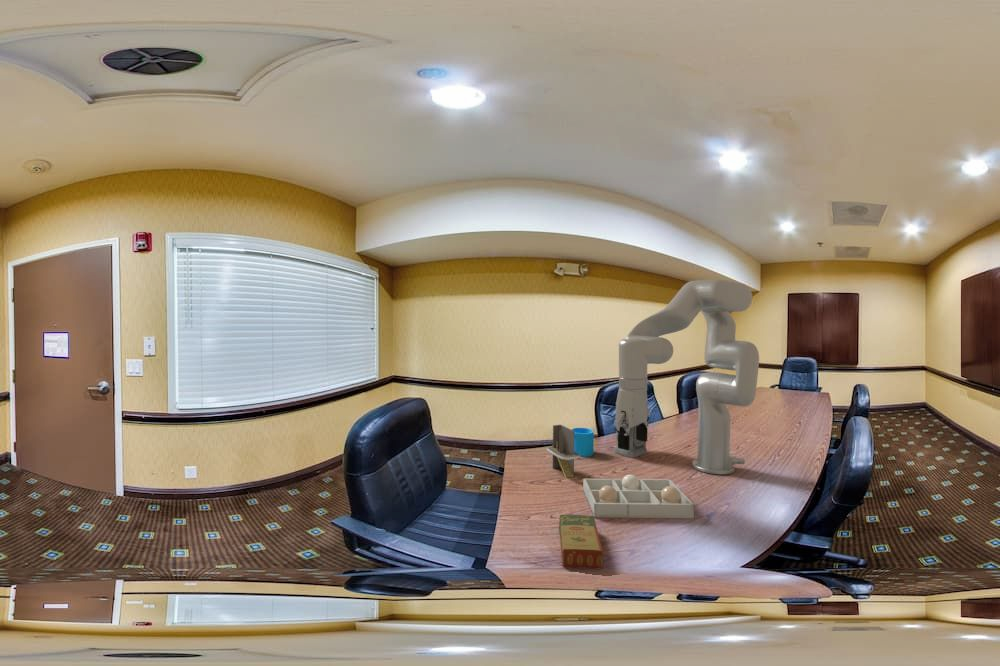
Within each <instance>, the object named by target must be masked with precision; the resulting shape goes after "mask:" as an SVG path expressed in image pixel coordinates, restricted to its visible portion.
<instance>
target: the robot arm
mask: <svg viewBox="0 0 1000 666" xmlns="http://www.w3.org/2000/svg"><path fill="white" fill-rule="evenodd" d="M752 302H753V293H752V291H751V289H750V288H749V286H748V285H746V284H745V283H741V282H734V281H730V280H726V279H718V278H717V279H715V278H714V279H698V280H697V279H695V280H690V281H688V282H686V283H685V284H684V285H683V286H682V287H681V288H680V289H679V290H678V292H677V293H676V294H675V295H674V297H673V298H672V299H671V301H670V302H669V303H668V304H667V305H666V306H665V308H662V309H661V310H659V311H657V312H655V313H653V314H651V315H650V316H648V317H646V318H644V319H642V320H640V321H639V322H638V323H637V324H636V325H634V327H633V328H632V329H631V331H629V333H628V334H627V335H626V337H625V338H623V339H621V340H620V341H619V344H618V390H617V391H618V392H617V396H616V400H617V402H616V401H615V403H616V404H615V420H614V422H613V423H614V426H615V432H616V431H617V433H616V435H617V434H618V448H620V449H624V450H629V449H630V436H629V435H628V433H629V430H630V428H631V427H634V426H636V439H637V440H640V441H644V442H646V443H647V442H648V427H649V420H650V414H651V409H650V408H649V401H648V392H647V391H648V365H649V364H651V365H652V364H653V365H659V364H665V363H667V362H668V361H670V359H671V358H672V357H673V355H674V346H673V343H672V342H671V341H670V340H669V339H667V338H664V337H662V336H664V335H665V336H666V335H670V334H673V333H674V334H675V333H677V332H681V331H683V330H686V329H687V328H688V327H689V326H690V325H691V324H692V323H693V321H694V319H695V318H696V317H697V316H698V315H699V313H700V312H701V313H702V315H703V317H704V319H705V322H706V333H705V334H706V336H705V343H704V344H705V347H704V362H705V364H706V366H708V367H711V368H714V369H719V370H726V371H735V374H729V373H722V372H716V371H715V372H714V371H709V372H704V373H702V374H699V376H698V378H697V379H696V383H695V386H696V387H695V391H696V397H697V402H698V420H697V421H698V425H697V451H696V452H697V453H696V455H697V456H696V457H697V458H696V459H694V460H692V462H691V465H692V467H693V468H694V469H695V470H698V471H699V472H703V473H707V474H712V475H721V476H722V475H731V474H733V473H734V472H735V465H736V464H737V465H744V464H745V462H746V460H745V458H744V457H737V456H736V455H735V456H731V455H730V448H731V444H730V443H731V424H732V423H731V420H732V419H731V414H730V411H729V408H728V406H727V405H730V406H734V407H741V408H746V407H749V406H751V405H752V404H753V402H755V398H756V393H757V388H758V387H757V386H758V378H759V377H758V376H759V368H760V367H759V365H760V354H759V349H758V348H757V346H756V345H755V344H754V343H752V342H750V341H745V340H736V329H737V325H736V322H735V319H734V318H733V316H732V315H731V313H730V312H737V313H739V312H744V311H747V309H749V308H750V307H751V305H752ZM625 423H628V424H625ZM637 425H638V426H637ZM623 427H626V429H625V430H624V428H623Z"/></svg>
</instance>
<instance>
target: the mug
mask: <svg viewBox="0 0 1000 666" xmlns="http://www.w3.org/2000/svg"><path fill="white" fill-rule="evenodd" d="M571 430H573V431H574V452H576V453H578V454H580V457H592V456H593V455H594V448H595V447H594V445H595V444H594V443H595V442H594V441H595V440H594V438H595V437H594V436H595V434H594V433H595V431H594V430H593V428H592V429H591V428H588V427H574V428H571Z"/></svg>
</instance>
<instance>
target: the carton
mask: <svg viewBox="0 0 1000 666" xmlns="http://www.w3.org/2000/svg"><path fill="white" fill-rule="evenodd" d="M596 523H597V522H596V520H595V517H594V516H593V515H587V514H586V515H583V514H581V515H580V514H559V523H558V524H559V525H558V531H559V532H558V533H559V539H560V540H559V541H560V553H561V564H562V567H563V568H578V567H586V568H585V569H595V568H602V569H603V557H604V556H603V554H604V550H603V547H602V543H601V540H600V536H599V531H598V528H597V524H596Z"/></svg>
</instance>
